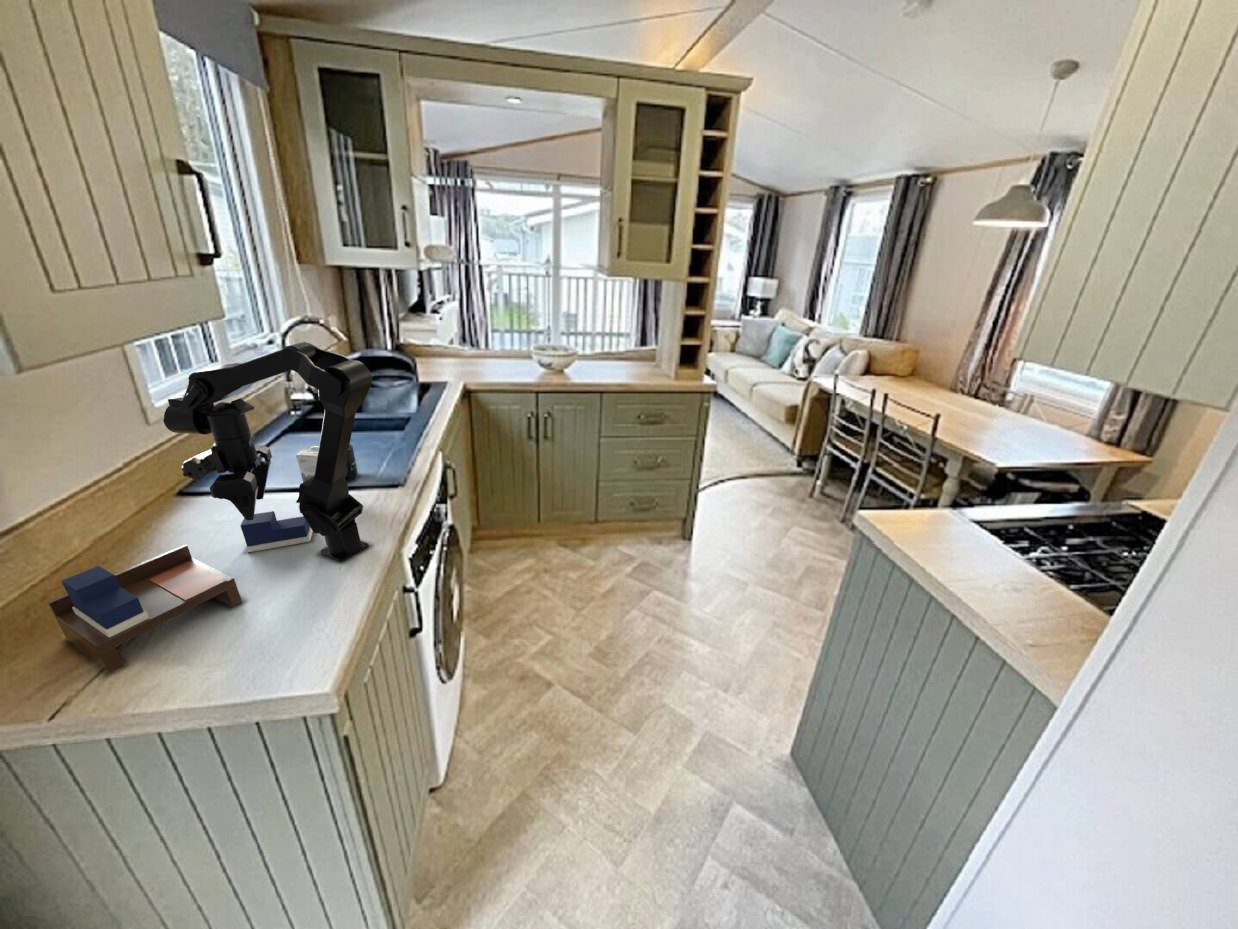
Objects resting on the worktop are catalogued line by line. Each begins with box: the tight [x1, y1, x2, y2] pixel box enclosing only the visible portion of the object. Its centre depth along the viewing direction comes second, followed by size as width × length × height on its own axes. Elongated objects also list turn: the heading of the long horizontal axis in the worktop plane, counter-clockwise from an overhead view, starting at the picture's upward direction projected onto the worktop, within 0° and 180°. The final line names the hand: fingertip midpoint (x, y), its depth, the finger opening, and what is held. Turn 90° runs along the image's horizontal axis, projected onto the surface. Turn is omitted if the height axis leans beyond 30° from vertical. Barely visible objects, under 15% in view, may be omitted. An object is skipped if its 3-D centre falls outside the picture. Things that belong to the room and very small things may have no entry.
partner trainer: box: [60, 565, 149, 638], centre depth 77 cm, size 11×5×6 cm, turn 62°
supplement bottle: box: [344, 443, 359, 483], centre depth 132 cm, size 7×7×12 cm
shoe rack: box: [46, 544, 243, 674], centre depth 83 cm, size 14×18×7 cm
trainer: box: [239, 510, 314, 553], centre depth 106 cm, size 11×5×6 cm, turn 112°
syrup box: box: [295, 445, 319, 483], centre depth 117 cm, size 6×6×14 cm
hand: (255, 509), depth 103 cm, fingers open, 9 cm apart
